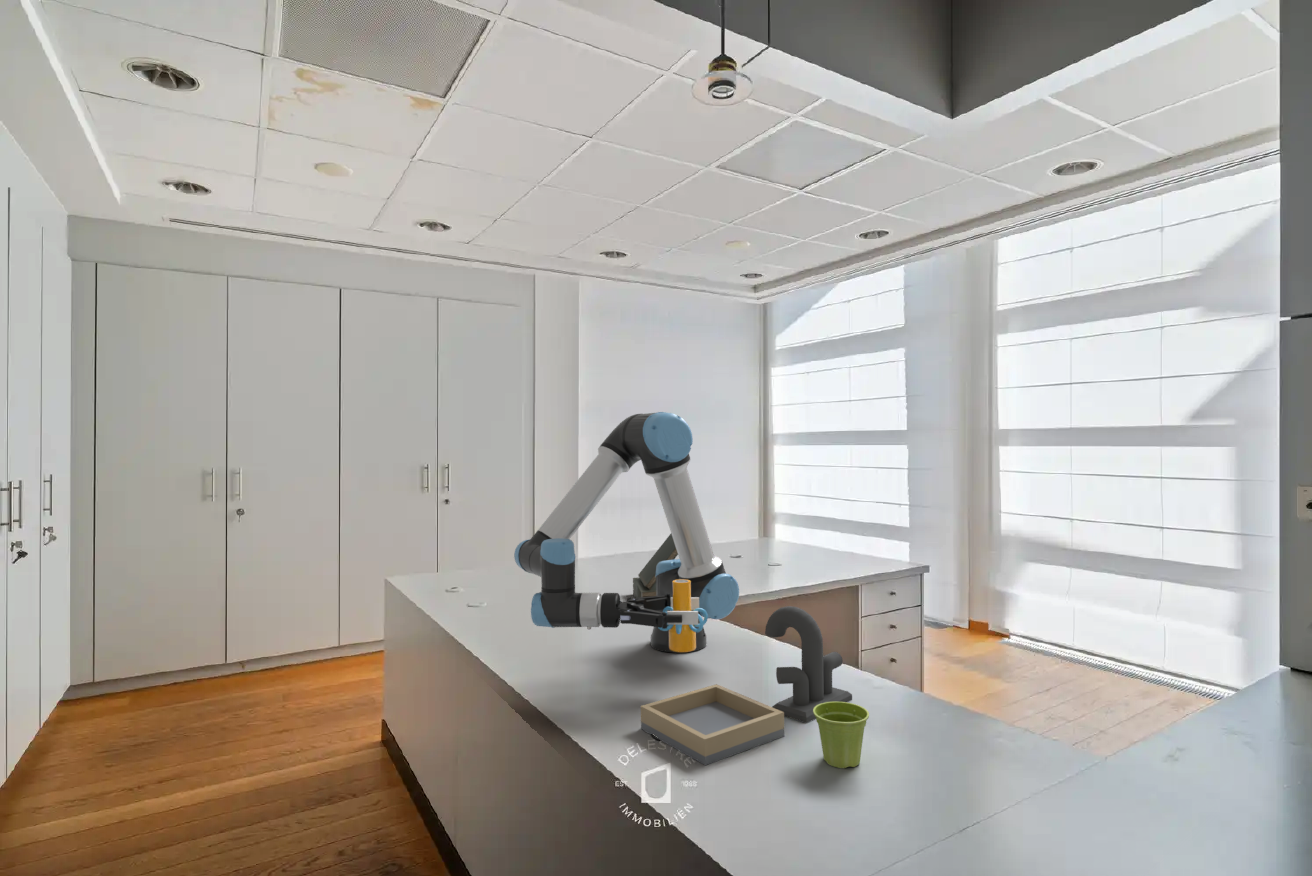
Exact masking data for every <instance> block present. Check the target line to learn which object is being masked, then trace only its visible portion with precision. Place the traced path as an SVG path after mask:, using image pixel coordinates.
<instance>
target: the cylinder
mask: <svg viewBox="0 0 1312 876" xmlns="http://www.w3.org/2000/svg"><path fill="white" fill-rule="evenodd" d="M667 610H670V611H691V581H690V580H686V579H678V580H673V608H672V607H666V608H664V610H663V612H666V611H667ZM693 611H698V612H702V613H703V614H704V617H703V616H700V615H699V614H698V619H699V621H700V623H699V624H698V625H671V624H667V625H669V626H668V627H667V628H666V629H662V627H661V628H659V627H658V628H659V629H660V630H662V631H668V630H669V649H670V650H672V651H675V652H674V653H676V652H680V653H691V652H690V651H692V652H694V651H693V650H695V649H696V632H700V631H701V630H702V628H704V626H705V625H706V624H707V621H708V619H709V618H708V615H707V612H706V611H705V610H704V609H702V608H696V609H695V610H693ZM666 613H667V612H666ZM694 626H695V627H699V628H698V629H696V628H694Z"/></svg>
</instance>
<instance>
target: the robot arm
mask: <svg viewBox="0 0 1312 876" xmlns="http://www.w3.org/2000/svg"><path fill="white" fill-rule="evenodd" d="M692 445H693V433H692V430H691V427H690V426H689V424H688V422H686V420H685V419H684V418H683V417H681V416H679V415H677V414H675V413H672V412H667V411H665V412H664V411H657V412H651V413H635V414H633V415H630V416H628V417H626V418H625V419H624V420H622V421H621V422H620V423H619V424H617V426H616V427H615V428H614V429H613V430H612V431H611V432H610V433H609V434H608V435H607V437H606V438H605V439H604V441H603V442H602V443H601V444H600V446H599V447H598V448H597V453H598V454H597V456H596V457H595V458H594V459H593V460H592V461H591V463H590V464H589V465H588V467H587V468H586V469H585V471H584V472H583V473H582V474H581V475H580V477H579V478H578V479H577V480H576V482H575V483H574V485H572V487H571V488H570V489H569V491H568V492H567V493H566V494H565V496H564V497H563V498H562V500H561V501H560V502H559V503H558V504H557V505H556V507H555V508H554V509H553V510H552V512H551V513H550V514H549V515H548V517H547V518H546V519H545V521H544V522H543V523H542V524H541V526H540V527H539V528H538V529H537V531H535V533H534V534H533V535H532V537H530V538H529V539H525V540H522V541H521V542H519V543H518V544H517V546H516V548H515V550H514V557H513V558H514V561H515V564H516V565H517V566H518V568H520V569H522V570H523V571H524V572H526V573H528V574H533V575H536V576H538V577H540V578H541V579H540V580H541V582H540V583H541V586H540V587H541V589H540V592H536V593H534V594H533V596H532V597H531V607H530V617H531V618H530V619H531V621H532V623H533V625H534V626H536V627H543V628H544V627H545V628H546V627H547V628H552V629H554V628H586V629H587V630H591V629H592V628H599V627H600V626H602V628H610V629H611V628H613V629H614V628H618V627H619V626H620V624H622V625H623V624H624V625H625V624H626V625H627V624H628V625H637V626H646V627H653V628H652V632H651V634H650V646H651V647H652V648H653V649H654V650H657V651H659V652H660V651H661V652H667V653H676V654H677V653H678V654H679V653H681V652H675V651H672V650H670V649H669V630H668V631H662V630H660V629H659V628H661V627H662V629H666V628H667V627H668V626H669V625H667V624H671V625H698V624H699V623H700V621H699V619H698V614H699V615H700V616H701V617H702V618H704V614H703V613H702V612H698V611H693V610H695V609H696V608H702V609H704V610H705V611H706V612H707V615H708V619H711V620H717V621H718V620H721V619H724V618H727V617H728V616H729V615H730V614H731V613H732V612H733V610H734V609H735V608H736V605H737V602H738V601H739V597H740V587H739V586H740V585H739V584H738V581H737V579H736V578H735V577H734V576H732V575H731V574H729V573H726V570H725V565H724V563H723V560H722V558H721V557H720V556H718V555H716V554H715V553H714V552H713V548H712V545H711V542H710V538H709V536H708V532H707V529H706V525H705V522H704V518H703V515H702V512H701V510H700V505H699V502H698V500H697V496H696V493H695V490H694V487H693V484H692V481H691V477H690V474H689V471H688V465H689V463H690V462H691V456H690V452H691V449H692V447H691V446H692ZM639 461H641V464H642V466H643V469H644V472H645V475H647V476H649V477H651V478H653V481H654V484H655V486H656V490H657V493H658V496H659V499H660V503H661V506H662V509H663V512H664V515H665V518H666V522H667V524H668V527H669V531H670V534H672V537H673V540H674V543H675V546H676V549H677V553H678V555H677V557H678V558H677V559H676V558H675V559H674V560H666V561H661V562H659V563H658V564H657V566H656V575H655V577H656V596H651V597H640V598H635V597H627V598H626V601H621V595H620V593H618V592H604V593H603V594H601V592H576V553H575V544H574V542H573V541H574V540H572V539H571V538H572V537H573V535H574V534H575V533H576V532H577V530H578V529H579V527H580V526H581V525H582V524H583V523H584V521H585V520H586V519H587V518H588V516H590V514H591V512H593V510H594V509H595V507H596V506H597V505H598V504H599V502H601V500H602V499H603V497H604V496H605V494H607V492H608V491H609V489H611V487H612V486H613V485H614V483H615V482H616V480H618V478H619V477H620V475H621V474H623V473H627V472H629V470H630V469H631V468H632V467H633V466H634V465H635V464H636V463H638V462H639ZM678 579H686V580H690V581H691V611H670V610H667V611H666V612H667V613H666V612H663V610H664V608H666V607H672V608H673V580H678ZM658 627H659V628H658ZM694 628H696V629H698V628H699V627H695V626H694ZM706 644H708V643H707V635H706V631H705V628H704V627H703V628H702V630H701V631H700V632H696V649H695V650H693V651H690V652H689V653H691V652H696V651H699V649H700V650H702V649H704V648H705V647H707V645H706Z"/></svg>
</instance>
